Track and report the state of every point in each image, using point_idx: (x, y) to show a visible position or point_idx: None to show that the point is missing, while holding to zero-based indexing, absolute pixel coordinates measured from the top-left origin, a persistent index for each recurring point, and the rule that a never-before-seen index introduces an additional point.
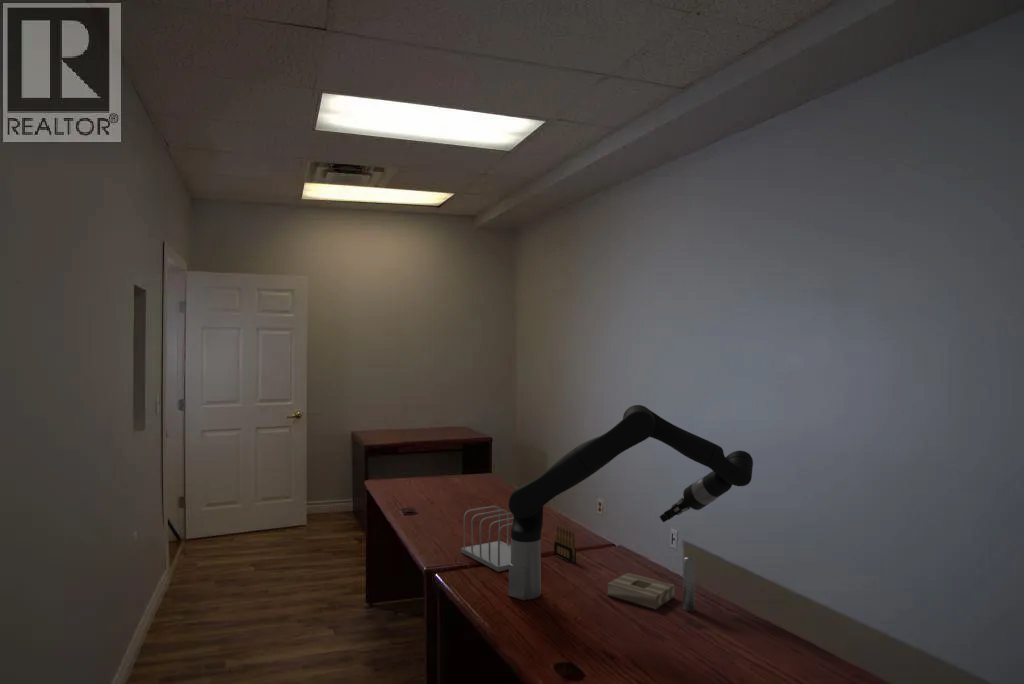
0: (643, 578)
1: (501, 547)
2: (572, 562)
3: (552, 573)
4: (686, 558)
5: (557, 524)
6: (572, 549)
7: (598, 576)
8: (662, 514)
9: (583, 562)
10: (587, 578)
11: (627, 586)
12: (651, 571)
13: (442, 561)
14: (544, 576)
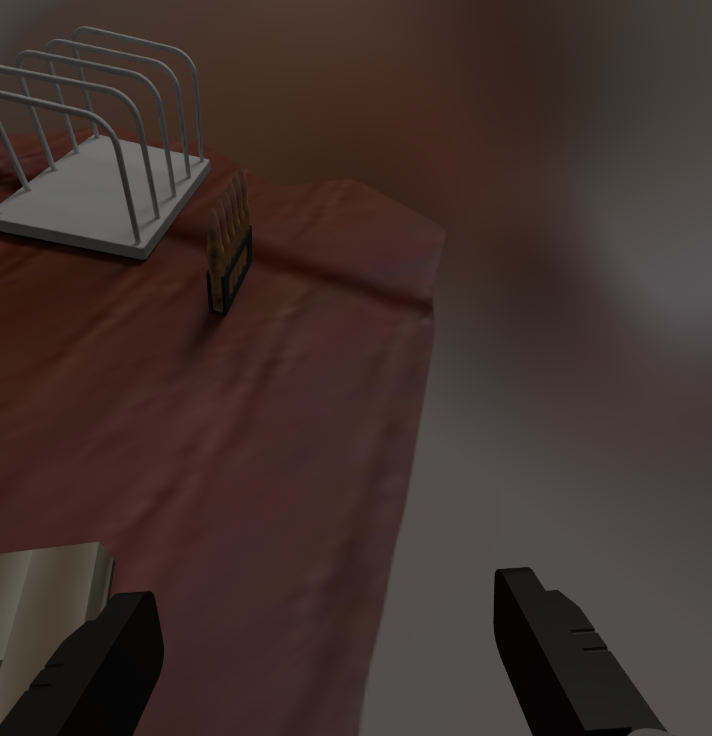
0: None
1: (161, 174)
2: (211, 311)
3: (77, 317)
4: None
5: (237, 174)
6: (210, 277)
7: (145, 422)
8: (77, 648)
9: (242, 328)
10: (98, 408)
11: None
12: (346, 527)
13: None
14: (32, 314)
